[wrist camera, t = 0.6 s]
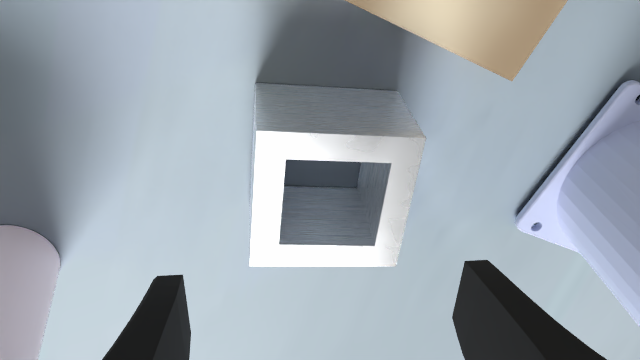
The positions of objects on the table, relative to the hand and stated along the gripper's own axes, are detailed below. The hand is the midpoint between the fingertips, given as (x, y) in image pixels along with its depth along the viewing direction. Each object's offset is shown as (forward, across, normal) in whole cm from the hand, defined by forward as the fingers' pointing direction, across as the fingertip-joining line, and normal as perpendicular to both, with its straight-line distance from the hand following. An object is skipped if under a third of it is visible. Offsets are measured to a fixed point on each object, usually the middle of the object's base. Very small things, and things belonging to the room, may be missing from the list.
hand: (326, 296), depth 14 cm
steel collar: (+9, -1, +1) cm, 9 cm away
